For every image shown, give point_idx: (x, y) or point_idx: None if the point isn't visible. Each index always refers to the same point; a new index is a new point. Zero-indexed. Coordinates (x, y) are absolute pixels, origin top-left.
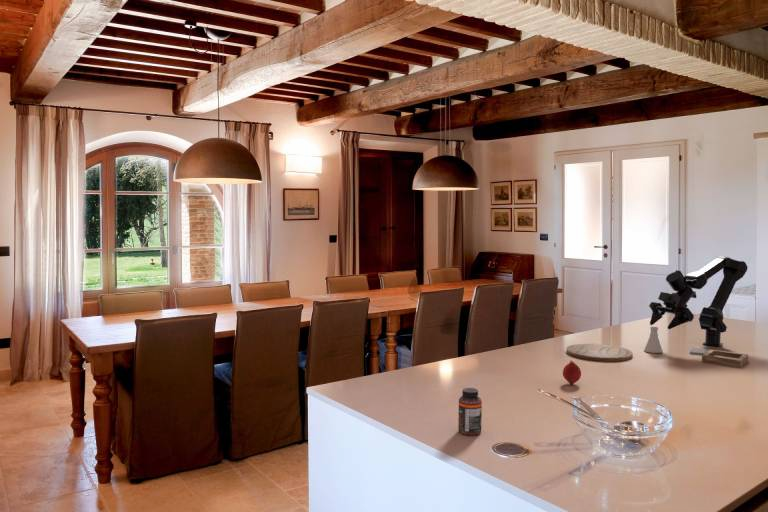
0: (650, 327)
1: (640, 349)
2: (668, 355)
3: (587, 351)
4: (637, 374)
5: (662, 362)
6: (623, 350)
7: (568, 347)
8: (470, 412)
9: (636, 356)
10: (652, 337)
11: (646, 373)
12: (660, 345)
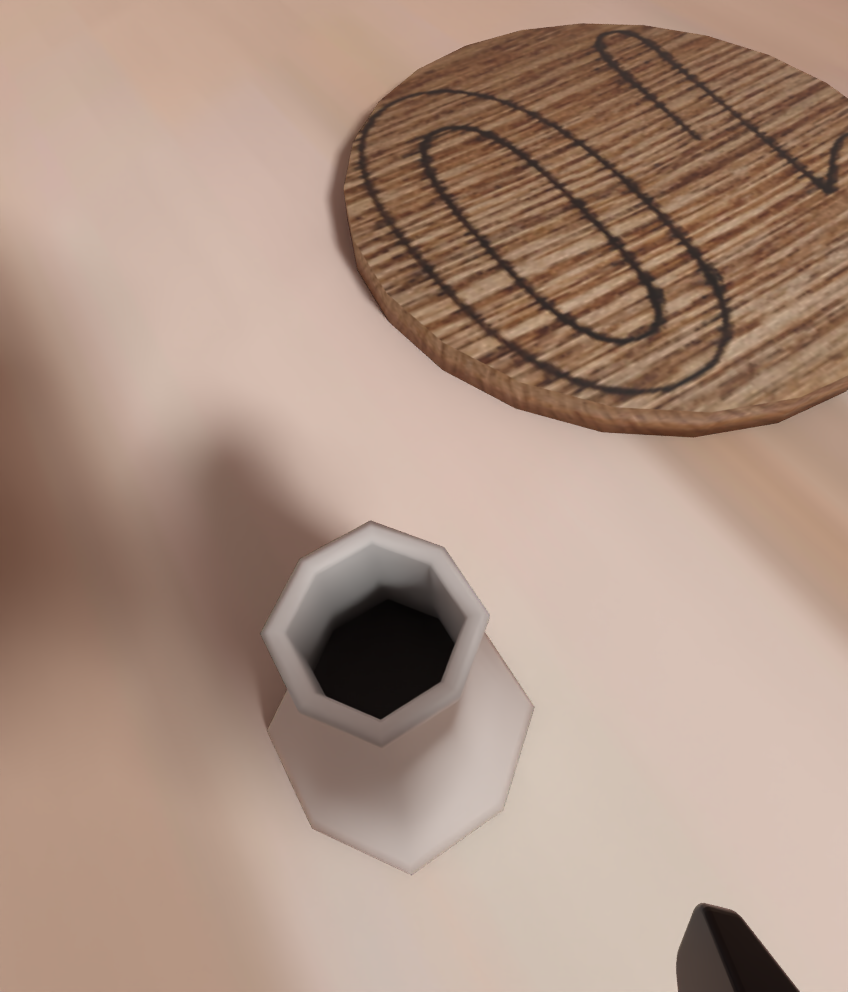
0: (436, 549)
1: (582, 693)
2: (161, 682)
3: (641, 101)
4: (111, 37)
5: (94, 356)
6: (516, 315)
7: (828, 94)
8: None
9: (380, 364)
10: (373, 601)
11: (75, 76)
12: (302, 757)
